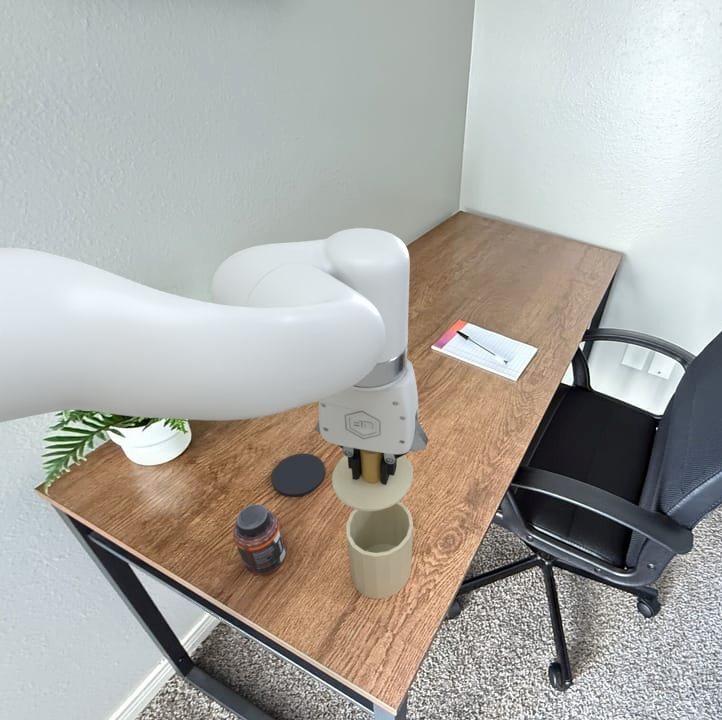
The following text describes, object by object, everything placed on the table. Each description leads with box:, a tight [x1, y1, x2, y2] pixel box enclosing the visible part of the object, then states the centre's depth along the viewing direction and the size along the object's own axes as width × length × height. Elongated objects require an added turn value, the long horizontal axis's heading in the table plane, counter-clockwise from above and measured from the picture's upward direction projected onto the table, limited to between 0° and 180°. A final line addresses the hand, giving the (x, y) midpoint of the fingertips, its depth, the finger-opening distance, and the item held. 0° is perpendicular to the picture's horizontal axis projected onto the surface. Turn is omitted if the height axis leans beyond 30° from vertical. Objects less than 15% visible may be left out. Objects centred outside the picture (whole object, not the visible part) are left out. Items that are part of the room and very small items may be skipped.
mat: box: [270, 452, 326, 498], centre depth 83 cm, size 9×9×1 cm
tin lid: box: [331, 449, 414, 511], centre depth 56 cm, size 10×10×7 cm
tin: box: [345, 501, 414, 600], centre depth 68 cm, size 9×9×12 cm
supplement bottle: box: [232, 503, 287, 577], centre depth 68 cm, size 6×6×11 cm
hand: (373, 472), depth 57 cm, fingers closed on tin lid, 2 cm apart
